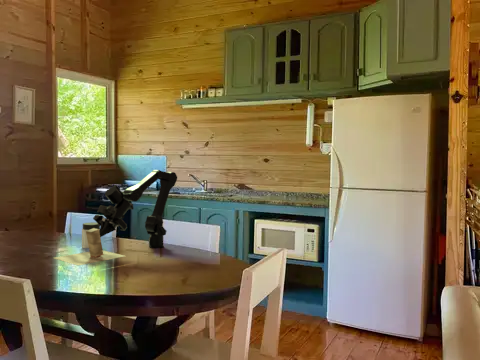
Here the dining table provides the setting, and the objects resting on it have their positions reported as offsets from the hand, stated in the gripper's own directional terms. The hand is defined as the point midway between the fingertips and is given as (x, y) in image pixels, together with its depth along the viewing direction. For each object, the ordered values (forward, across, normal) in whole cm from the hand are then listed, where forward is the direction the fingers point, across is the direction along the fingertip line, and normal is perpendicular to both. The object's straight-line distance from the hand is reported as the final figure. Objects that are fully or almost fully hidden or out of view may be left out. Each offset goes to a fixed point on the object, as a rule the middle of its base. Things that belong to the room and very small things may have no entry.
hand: (98, 236), depth 200 cm
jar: (-1, -22, +14) cm, 26 cm away
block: (+6, 0, +6) cm, 8 cm away
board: (+9, -2, +4) cm, 10 cm away
